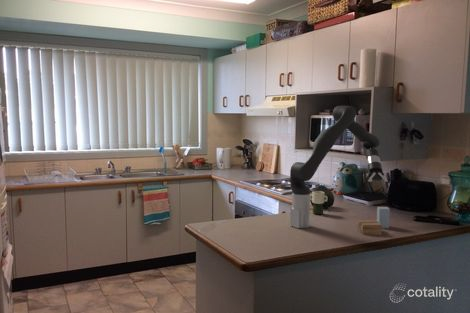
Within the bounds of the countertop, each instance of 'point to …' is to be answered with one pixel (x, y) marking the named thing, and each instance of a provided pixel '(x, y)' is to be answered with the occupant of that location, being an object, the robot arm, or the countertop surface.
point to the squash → (329, 195)
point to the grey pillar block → (383, 216)
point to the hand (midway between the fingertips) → (378, 188)
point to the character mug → (318, 201)
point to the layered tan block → (369, 227)
